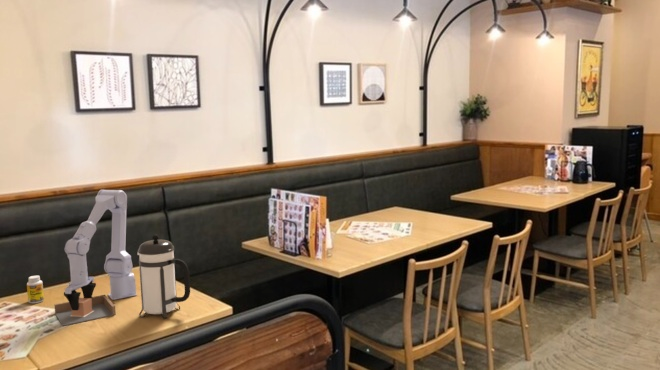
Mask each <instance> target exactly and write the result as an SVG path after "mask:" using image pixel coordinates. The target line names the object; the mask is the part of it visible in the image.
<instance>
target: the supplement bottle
mask: <svg viewBox="0 0 660 370" xmlns="http://www.w3.org/2000/svg"><path fill="white" fill-rule="evenodd" d="M43 284H44V283H43V280H41V277H40V275H31V276H29V277H28V281H27V283H26V290H27V291H26V292H27V302H28V303H29V304H40V303H43V301H44V299H45V297H44V296H45V295H44V285H43Z"/></svg>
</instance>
